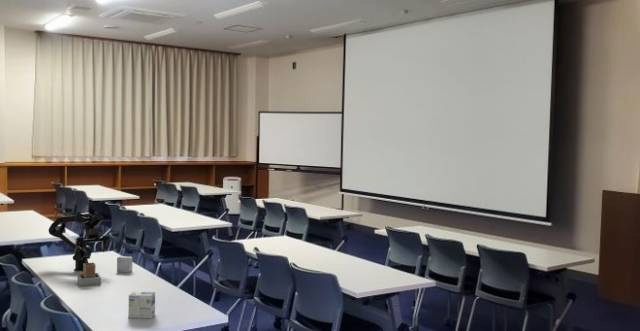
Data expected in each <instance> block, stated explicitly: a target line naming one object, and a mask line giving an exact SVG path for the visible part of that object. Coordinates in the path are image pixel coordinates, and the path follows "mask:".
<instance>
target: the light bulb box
mask: <svg viewBox="0 0 640 331" xmlns="http://www.w3.org/2000/svg"><path fill="white" fill-rule="evenodd" d="M127 313H128V316H127V318H128V319H152V318H153V317H154V316H155V315H156V291H132V292H131V293H129V294H128V312H127Z"/></svg>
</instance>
